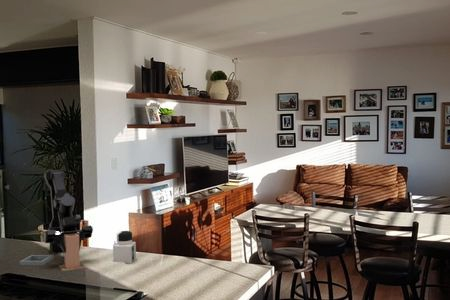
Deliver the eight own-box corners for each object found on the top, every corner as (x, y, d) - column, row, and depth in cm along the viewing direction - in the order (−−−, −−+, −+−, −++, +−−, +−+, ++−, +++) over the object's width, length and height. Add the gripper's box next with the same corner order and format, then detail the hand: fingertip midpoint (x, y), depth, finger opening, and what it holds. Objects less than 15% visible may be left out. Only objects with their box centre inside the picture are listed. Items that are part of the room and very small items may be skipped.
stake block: (58, 267, 187) (58, 257, 187) (81, 264, 192) (80, 254, 192) (62, 273, 180) (62, 262, 179) (85, 269, 184) (85, 258, 184)
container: (136, 259, 199) (135, 229, 198) (131, 264, 191) (130, 233, 191) (119, 258, 200) (118, 229, 199) (113, 263, 192) (112, 233, 192)
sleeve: (64, 265, 187) (64, 234, 186) (77, 264, 189) (76, 233, 189) (66, 268, 182) (66, 236, 182) (79, 267, 185) (79, 235, 184)
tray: (31, 260, 199) (31, 255, 199) (53, 260, 199) (53, 255, 198) (19, 267, 189) (19, 261, 189) (42, 267, 189) (42, 261, 188)
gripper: (44, 211, 184) (49, 243, 174) (91, 206, 193) (98, 237, 184) (42, 227, 191) (47, 258, 182) (87, 222, 200) (94, 252, 191)
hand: (72, 251), depth 184 cm, fingers closed on sleeve, 5 cm apart
